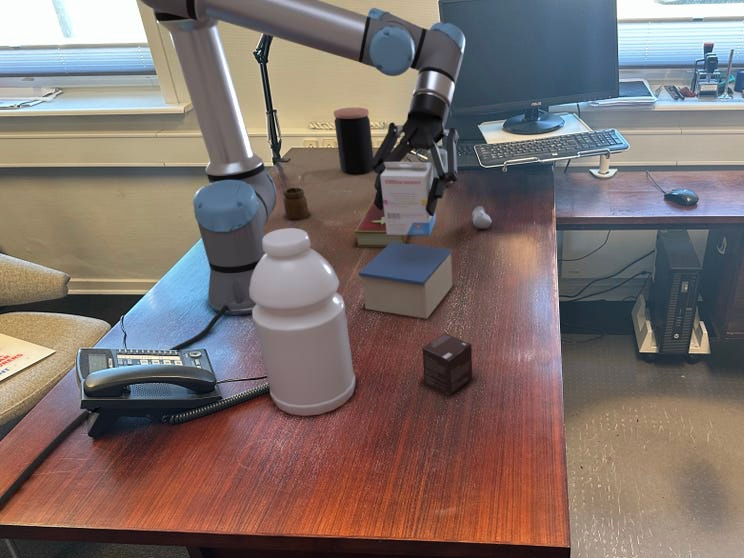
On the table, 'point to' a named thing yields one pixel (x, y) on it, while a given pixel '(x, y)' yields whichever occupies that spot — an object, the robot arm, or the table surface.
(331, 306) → the bottle
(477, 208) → the white bust figurine
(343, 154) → the coffee jar
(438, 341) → the box
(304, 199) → the utensil holder
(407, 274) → the storage box lid
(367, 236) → the hardcover book
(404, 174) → the ink box
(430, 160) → the air freshener
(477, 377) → the table surface
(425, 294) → the storage box
